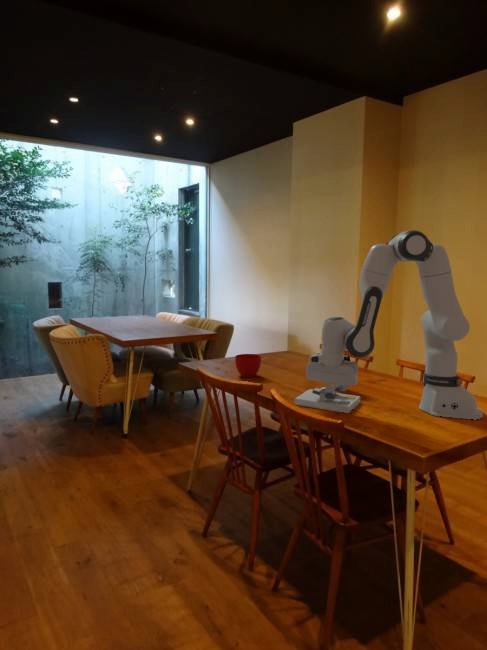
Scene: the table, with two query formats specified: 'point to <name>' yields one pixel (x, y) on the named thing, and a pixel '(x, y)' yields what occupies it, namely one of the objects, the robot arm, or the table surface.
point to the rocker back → (335, 389)
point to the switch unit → (328, 401)
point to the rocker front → (327, 395)
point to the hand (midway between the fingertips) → (330, 393)
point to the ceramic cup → (248, 364)
